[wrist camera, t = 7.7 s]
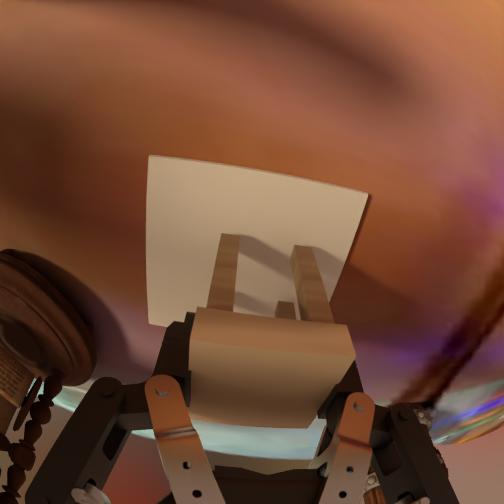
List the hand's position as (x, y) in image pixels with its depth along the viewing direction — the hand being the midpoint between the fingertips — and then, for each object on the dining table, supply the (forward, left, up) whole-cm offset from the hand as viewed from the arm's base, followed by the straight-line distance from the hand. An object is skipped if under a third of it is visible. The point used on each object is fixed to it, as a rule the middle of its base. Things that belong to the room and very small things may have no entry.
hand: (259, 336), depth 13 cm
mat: (-1, 0, -6) cm, 6 cm away
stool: (0, 0, -5) cm, 5 cm away
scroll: (-19, -9, -6) cm, 22 cm away
